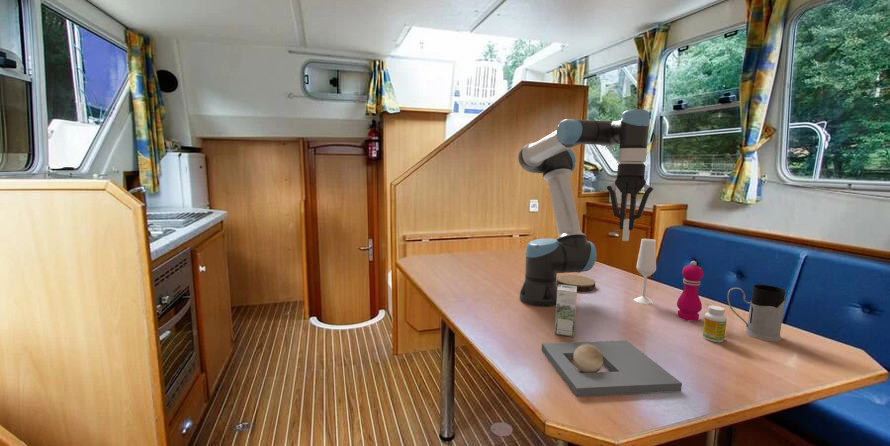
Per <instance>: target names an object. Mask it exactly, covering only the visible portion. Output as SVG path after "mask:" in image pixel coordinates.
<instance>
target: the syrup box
mask: <svg viewBox="0 0 890 446" xmlns="http://www.w3.org/2000/svg"><path fill="white" fill-rule="evenodd" d="M577 296H578V292H577V286H568V285H558V288H557V303H556V305H555V306H556V307H555V319H554V320H555V322H554V323H555V325H554V334H555V335H559V336H565V337H572V338H573V337H575V326H576V312H577Z"/></svg>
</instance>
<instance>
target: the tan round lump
mask: <svg viewBox="0 0 890 446" xmlns="http://www.w3.org/2000/svg"><path fill="white" fill-rule="evenodd" d="M572 361H573V363H574V364H573V365H575V366H574V367H575V368H576V369H577V370H579V371H580V373H596V372H600V370H602V368H603V366H604V364H603V356H602V354H601V352H600V351H599V349H598V348H596V347H595V346H593V345H590V344H583V345H580V346H579V347H577V348H576V350H575V352H574V354H573V360H572Z"/></svg>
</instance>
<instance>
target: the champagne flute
mask: <svg viewBox="0 0 890 446" xmlns="http://www.w3.org/2000/svg"><path fill="white" fill-rule="evenodd" d="M656 245H657V242H656V239H652V238H641V241H640V247H639V251H638V255H637V263H636V267H635V268H636V270H637V272H638V273H639V274H640V275H641V276H642V277H643V279H642V290H641V291H642V292H641V296H638V297H635V298H634V299H633V301H634V302H636V303H638V302H639V304H643V305H644V304H645V305H650V304H651V303H652V304H654V302H653V300H651V299H650V298H649V297H647V296H646V293H647V285H648V284H647V283H648V277H650V276H651V275H653V274H654V273H655V272H656V271H657V246H656ZM652 304H651V305H652Z"/></svg>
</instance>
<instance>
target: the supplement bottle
mask: <svg viewBox="0 0 890 446" xmlns="http://www.w3.org/2000/svg"><path fill="white" fill-rule="evenodd" d="M707 311H708V312H705V314H704V318H703V319H704V320H703V329H702V338H704V339H705V340H707V341H709V342H715V343H723V342H724V341H725V335H726V330H727V329H726V326H727V316H726V315H725V311H726V310H725V308H724V307H722V306H718V305H708V308H707Z"/></svg>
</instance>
